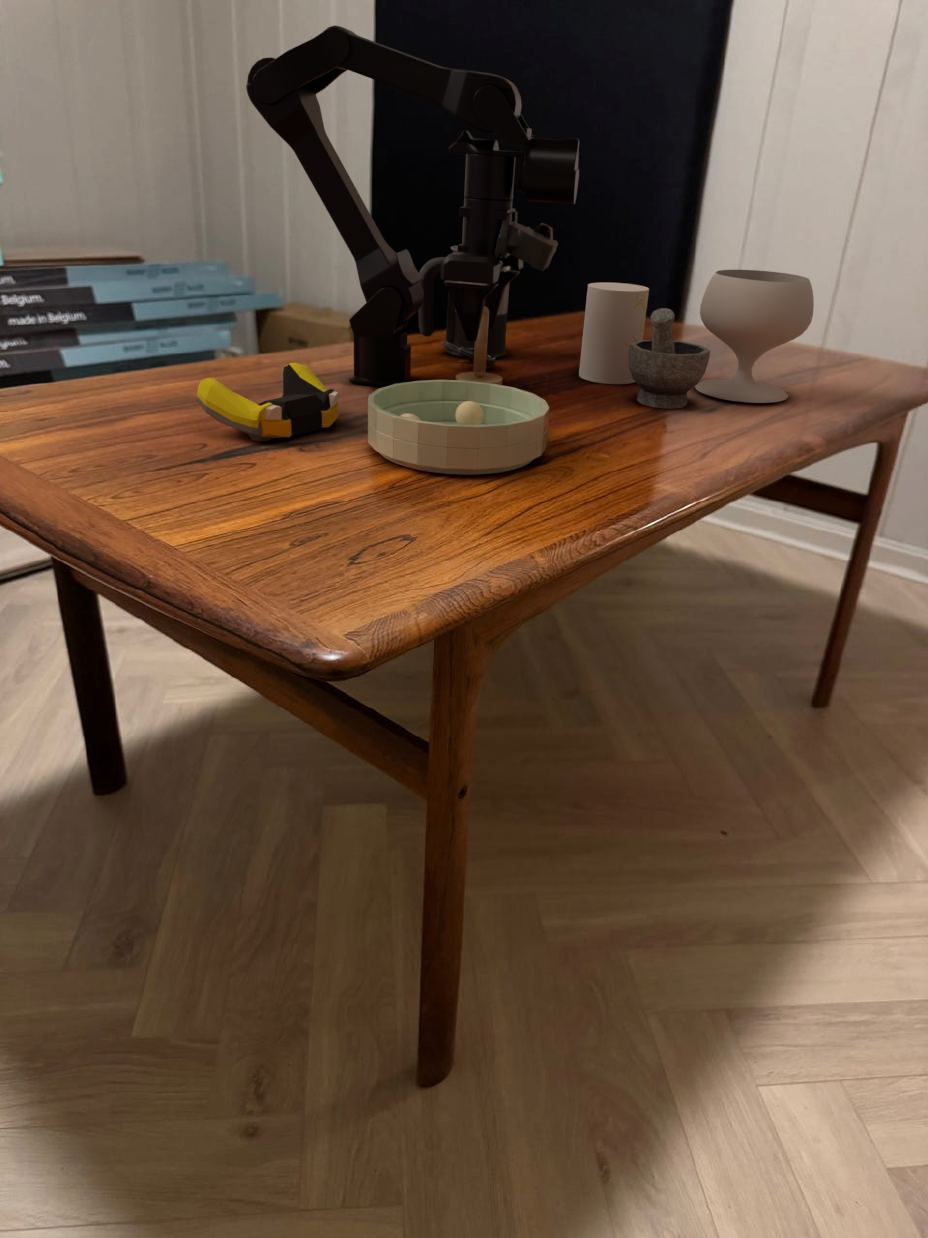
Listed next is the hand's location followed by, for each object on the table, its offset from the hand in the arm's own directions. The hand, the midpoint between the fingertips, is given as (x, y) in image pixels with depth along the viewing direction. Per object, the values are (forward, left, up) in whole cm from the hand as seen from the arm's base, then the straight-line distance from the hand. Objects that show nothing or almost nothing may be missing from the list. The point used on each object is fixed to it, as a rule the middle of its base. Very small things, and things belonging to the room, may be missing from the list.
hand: (480, 334), depth 116 cm
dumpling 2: (+4, -21, -5) cm, 22 cm away
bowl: (+4, -26, -7) cm, 27 cm away
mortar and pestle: (+23, +3, -7) cm, 24 cm away
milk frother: (-5, +18, -7) cm, 20 cm away
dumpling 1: (0, -28, -5) cm, 29 cm away
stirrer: (0, 0, -7) cm, 7 cm away
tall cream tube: (+15, +15, -7) cm, 22 cm away
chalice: (+33, +13, -7) cm, 36 cm away
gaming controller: (-16, -26, -7) cm, 31 cm away
